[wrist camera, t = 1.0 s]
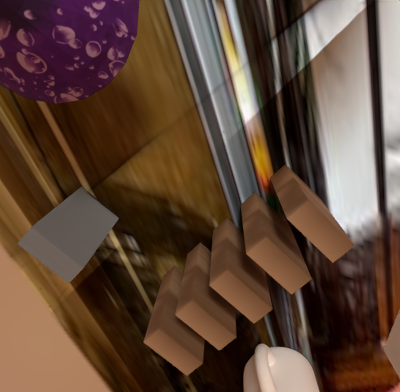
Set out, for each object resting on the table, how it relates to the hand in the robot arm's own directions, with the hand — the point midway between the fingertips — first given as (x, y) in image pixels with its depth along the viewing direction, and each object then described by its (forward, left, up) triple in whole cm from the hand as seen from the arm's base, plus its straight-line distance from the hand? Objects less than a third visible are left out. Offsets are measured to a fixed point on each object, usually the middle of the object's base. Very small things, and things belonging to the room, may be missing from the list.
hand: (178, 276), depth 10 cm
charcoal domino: (-3, -14, -25) cm, 29 cm away
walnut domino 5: (+10, +2, -25) cm, 26 cm away
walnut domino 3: (+10, -6, -25) cm, 27 cm away
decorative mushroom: (-14, 0, -25) cm, 29 cm away
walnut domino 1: (+10, -14, -25) cm, 30 cm away
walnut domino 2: (+10, -10, -25) cm, 28 cm away
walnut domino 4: (+10, -2, -25) cm, 27 cm away
